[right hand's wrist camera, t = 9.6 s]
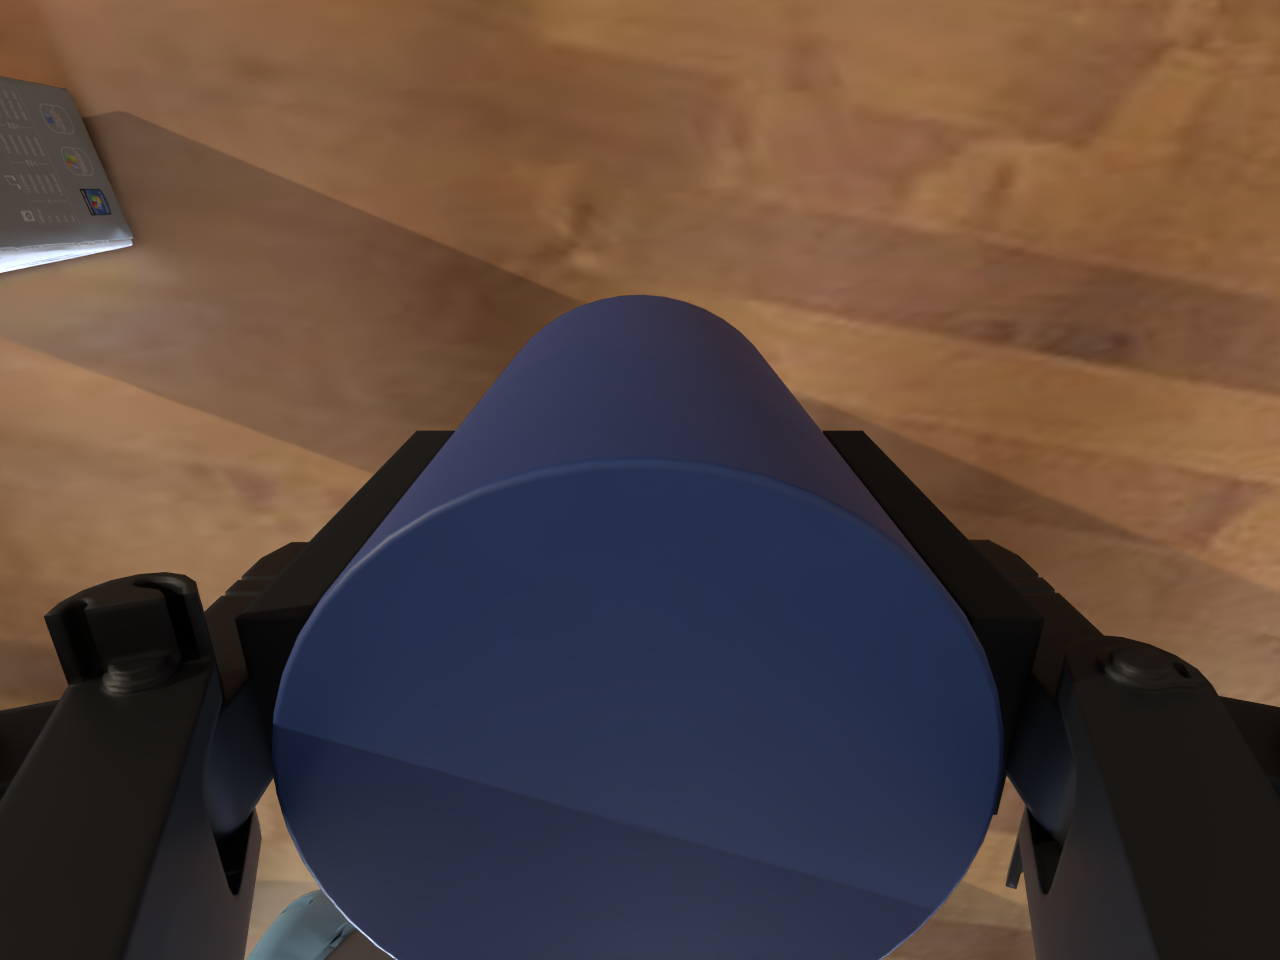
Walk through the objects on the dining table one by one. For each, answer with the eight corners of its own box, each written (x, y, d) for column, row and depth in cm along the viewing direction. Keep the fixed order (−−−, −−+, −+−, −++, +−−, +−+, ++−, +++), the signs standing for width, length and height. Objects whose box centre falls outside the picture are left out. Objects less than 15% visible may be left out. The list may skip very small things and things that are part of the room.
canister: (849, 399, 16) (1170, 704, 6) (683, 623, 18) (733, 1103, 9) (584, 229, 15) (473, 287, 5) (439, 492, 17) (167, 888, 7)
